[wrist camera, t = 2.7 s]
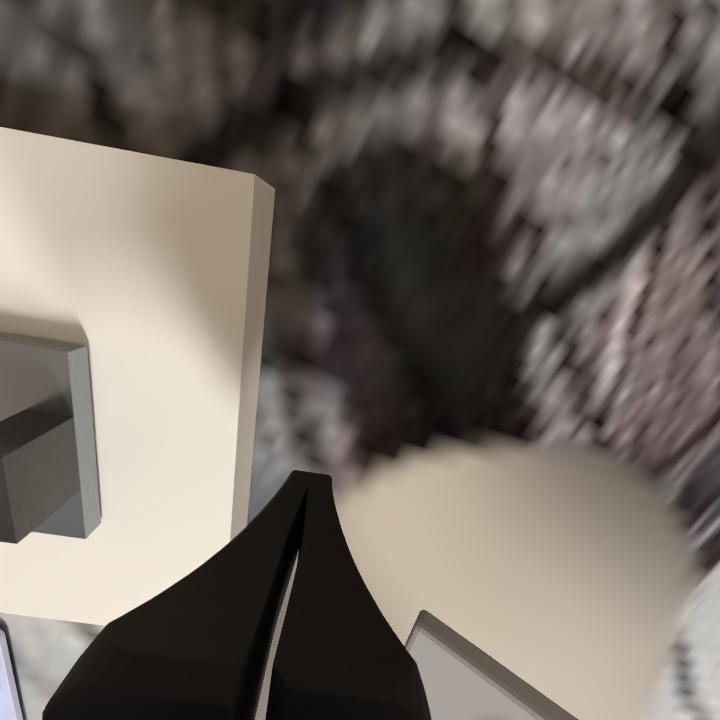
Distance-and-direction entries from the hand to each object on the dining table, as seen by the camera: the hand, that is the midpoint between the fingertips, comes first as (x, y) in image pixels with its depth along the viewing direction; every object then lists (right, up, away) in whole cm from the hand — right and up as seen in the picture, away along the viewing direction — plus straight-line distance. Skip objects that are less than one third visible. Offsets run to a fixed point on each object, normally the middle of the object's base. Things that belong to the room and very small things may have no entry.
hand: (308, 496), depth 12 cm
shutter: (-12, +2, +1) cm, 12 cm away
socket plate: (-12, +3, +3) cm, 13 cm away
